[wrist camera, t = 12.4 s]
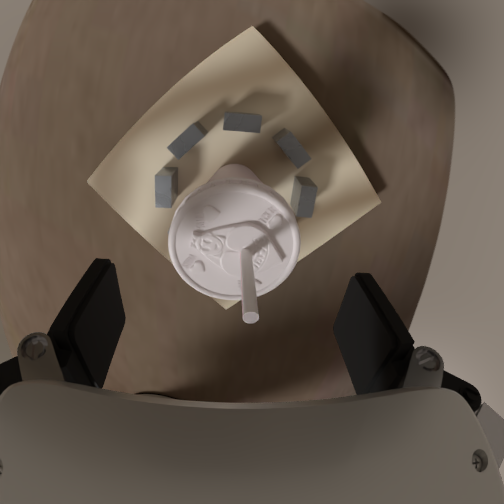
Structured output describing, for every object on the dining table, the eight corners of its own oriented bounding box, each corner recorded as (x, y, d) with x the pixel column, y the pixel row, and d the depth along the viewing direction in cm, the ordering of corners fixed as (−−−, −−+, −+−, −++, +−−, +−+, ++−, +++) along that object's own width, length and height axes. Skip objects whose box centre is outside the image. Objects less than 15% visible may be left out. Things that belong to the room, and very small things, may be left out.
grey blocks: (333, 195, 22) (344, 206, 20) (228, 271, 25) (228, 288, 23) (245, 82, 17) (247, 79, 15) (135, 181, 20) (124, 191, 18)
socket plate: (373, 196, 24) (380, 202, 23) (226, 299, 29) (226, 309, 28) (251, 30, 16) (252, 25, 15) (94, 176, 21) (86, 181, 20)
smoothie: (261, 231, 23) (287, 376, 11) (185, 213, 22) (139, 352, 10) (286, 159, 20) (359, 256, 8) (203, 137, 19) (150, 205, 7)
